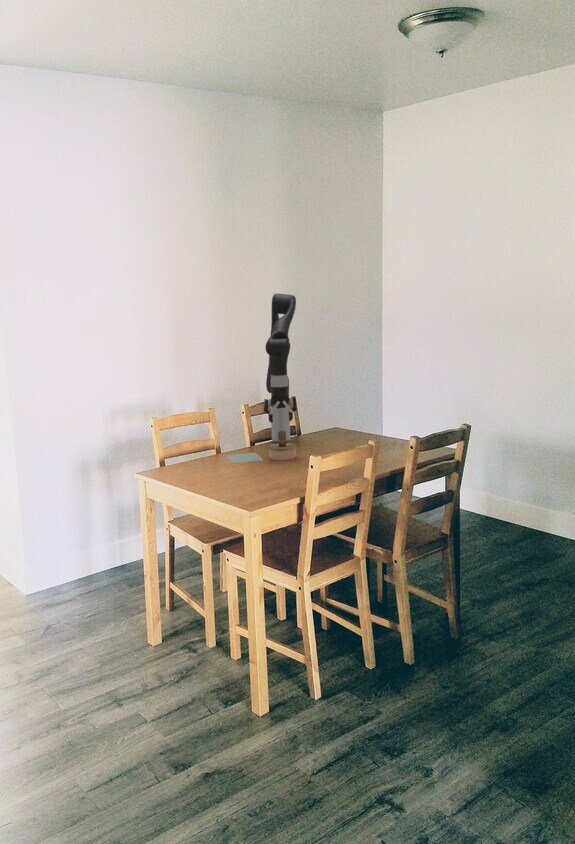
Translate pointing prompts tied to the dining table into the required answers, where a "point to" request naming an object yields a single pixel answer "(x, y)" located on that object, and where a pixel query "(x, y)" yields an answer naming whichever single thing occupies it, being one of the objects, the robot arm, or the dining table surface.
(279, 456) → the bowl
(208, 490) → the dining table surface
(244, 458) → the mat
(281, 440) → the lid
